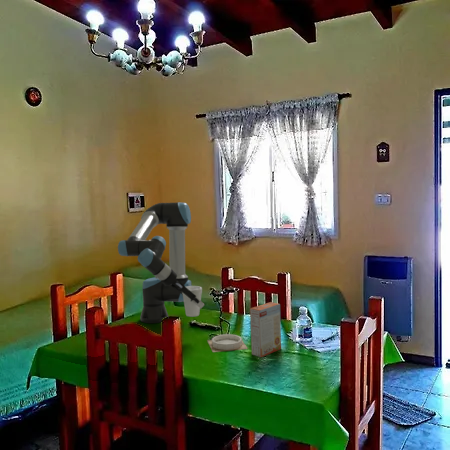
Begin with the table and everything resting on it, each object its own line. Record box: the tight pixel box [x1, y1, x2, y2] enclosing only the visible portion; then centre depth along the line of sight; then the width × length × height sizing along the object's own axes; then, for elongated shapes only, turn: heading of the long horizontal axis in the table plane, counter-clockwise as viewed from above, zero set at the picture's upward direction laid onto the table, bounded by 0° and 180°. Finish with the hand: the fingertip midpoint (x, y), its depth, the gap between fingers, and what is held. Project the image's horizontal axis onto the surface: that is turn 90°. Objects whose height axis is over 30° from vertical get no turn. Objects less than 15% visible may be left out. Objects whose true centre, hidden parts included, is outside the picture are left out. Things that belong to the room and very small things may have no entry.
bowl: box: [211, 333, 243, 350], centre depth 214 cm, size 14×14×2 cm
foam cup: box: [182, 285, 203, 317], centre depth 223 cm, size 10×9×13 cm
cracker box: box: [249, 301, 282, 358], centre depth 203 cm, size 14×6×21 cm, turn 134°
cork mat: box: [206, 339, 249, 353], centre depth 214 cm, size 16×16×1 cm
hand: (198, 303), depth 224 cm, fingers closed on foam cup, 9 cm apart
